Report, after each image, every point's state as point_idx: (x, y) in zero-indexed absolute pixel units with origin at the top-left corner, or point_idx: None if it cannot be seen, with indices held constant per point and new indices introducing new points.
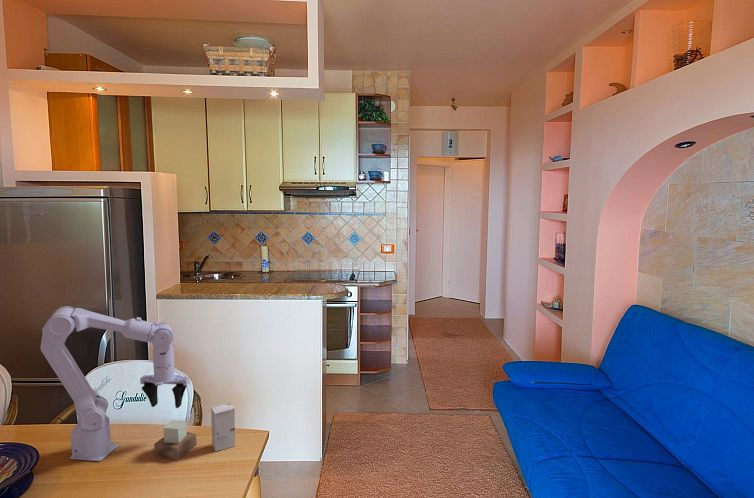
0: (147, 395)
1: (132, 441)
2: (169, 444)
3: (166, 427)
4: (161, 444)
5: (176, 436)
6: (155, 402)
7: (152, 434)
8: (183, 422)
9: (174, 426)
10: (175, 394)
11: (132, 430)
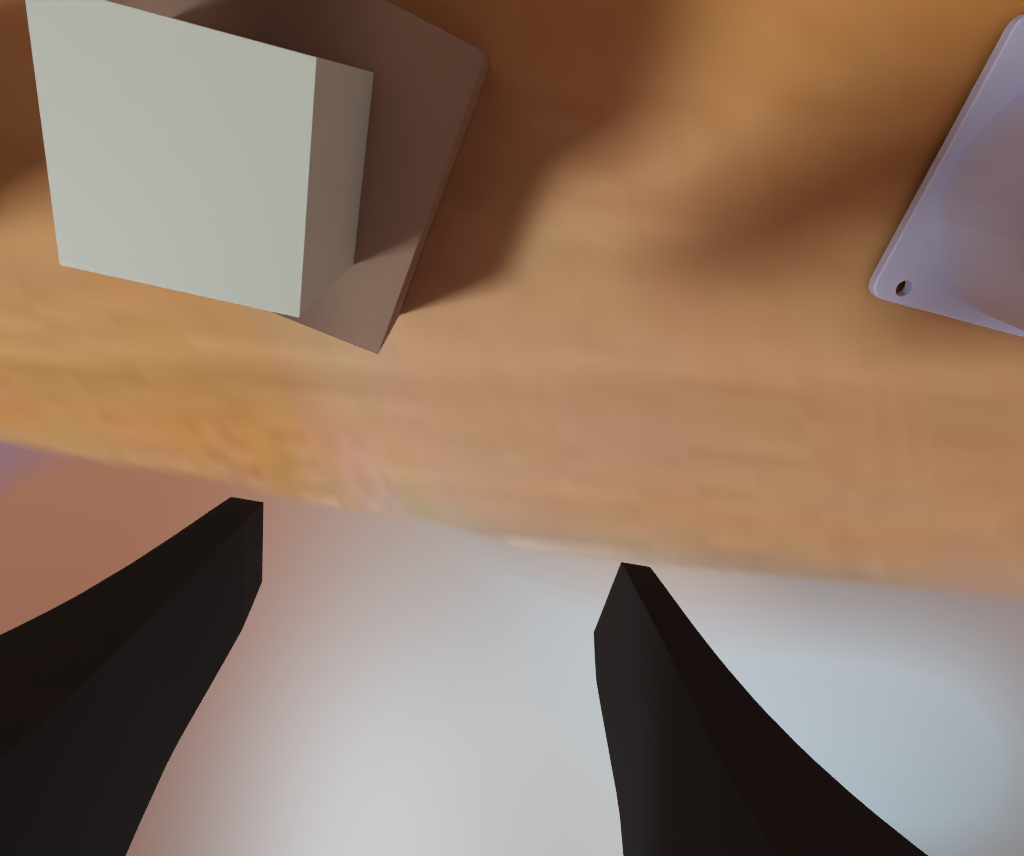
0: (777, 737)
1: (758, 344)
2: (283, 6)
3: (266, 68)
4: (388, 24)
5: (147, 11)
6: (613, 635)
7: (617, 426)
8: (69, 214)
9: (144, 90)
10: (16, 687)
11: (787, 496)
